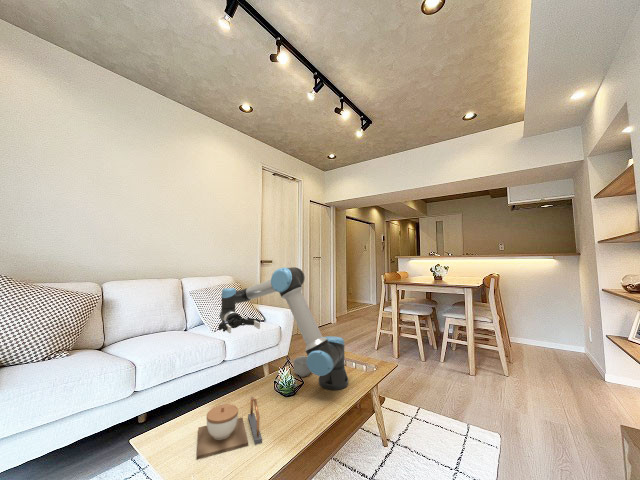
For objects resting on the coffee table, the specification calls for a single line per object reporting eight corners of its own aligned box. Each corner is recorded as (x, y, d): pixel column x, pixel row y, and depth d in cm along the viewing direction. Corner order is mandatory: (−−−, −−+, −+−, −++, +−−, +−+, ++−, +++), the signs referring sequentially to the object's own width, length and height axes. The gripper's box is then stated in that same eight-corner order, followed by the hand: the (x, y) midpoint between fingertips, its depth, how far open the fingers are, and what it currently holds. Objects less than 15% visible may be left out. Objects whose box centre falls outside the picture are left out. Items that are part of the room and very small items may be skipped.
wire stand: (254, 416, 108) (254, 413, 108) (262, 442, 92) (262, 438, 92) (248, 418, 107) (248, 414, 107) (255, 444, 91) (255, 440, 91)
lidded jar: (229, 421, 103) (229, 396, 104) (243, 434, 95) (243, 407, 96) (201, 434, 95) (201, 407, 96) (213, 449, 88) (214, 419, 88)
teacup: (309, 379, 141) (309, 363, 142) (290, 377, 144) (290, 362, 144) (315, 369, 155) (315, 354, 156) (297, 367, 157) (297, 353, 158)
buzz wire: (252, 414, 107) (253, 389, 107) (259, 436, 93) (259, 408, 94) (250, 414, 106) (250, 390, 107) (256, 437, 93) (257, 409, 93)
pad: (242, 420, 106) (242, 417, 106) (248, 445, 91) (248, 442, 91) (198, 430, 99) (198, 427, 99) (196, 459, 85) (196, 456, 85)
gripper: (255, 323, 148) (270, 332, 130) (207, 330, 134) (216, 340, 116) (255, 310, 148) (270, 316, 131) (208, 315, 135) (217, 323, 117)
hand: (245, 327), depth 124 cm, fingers open, 13 cm apart
